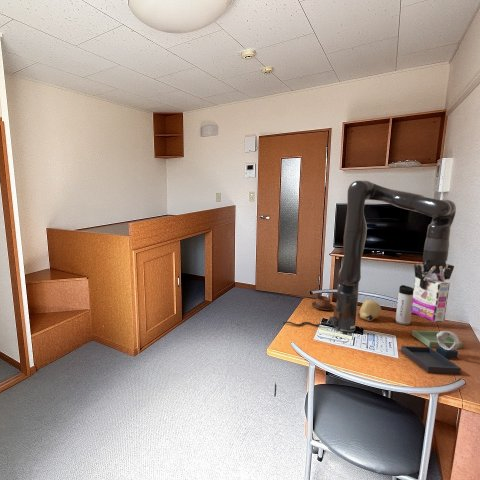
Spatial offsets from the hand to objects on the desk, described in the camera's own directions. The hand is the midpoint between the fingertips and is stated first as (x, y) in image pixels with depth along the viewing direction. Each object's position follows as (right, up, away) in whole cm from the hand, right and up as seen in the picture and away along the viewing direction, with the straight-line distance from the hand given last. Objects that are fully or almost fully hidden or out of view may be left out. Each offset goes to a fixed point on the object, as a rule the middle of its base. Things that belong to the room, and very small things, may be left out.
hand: (430, 288), depth 131 cm
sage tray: (+17, -28, +17) cm, 37 cm away
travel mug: (+18, -24, +38) cm, 49 cm away
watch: (+11, -30, +5) cm, 32 cm away
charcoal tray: (-1, -31, 0) cm, 31 cm away
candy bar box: (0, -12, +2) cm, 13 cm away
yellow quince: (+3, -24, +44) cm, 50 cm away
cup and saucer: (-14, -21, +59) cm, 65 cm away
